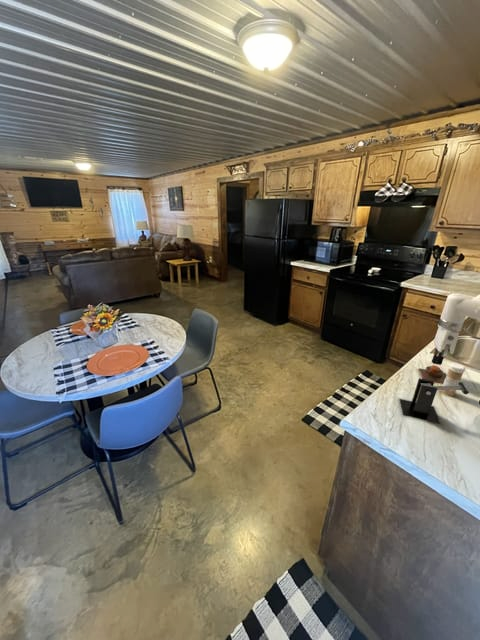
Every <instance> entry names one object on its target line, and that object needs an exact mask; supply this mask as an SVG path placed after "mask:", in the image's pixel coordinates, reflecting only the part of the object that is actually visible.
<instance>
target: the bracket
mask: <svg viewBox="0 0 480 640" xmlns="http://www.w3.org/2000/svg"><path fill="white" fill-rule="evenodd" d="M421 383H430V384H431V386H435V385H434V384H435V382H434V381H430V380H425V379H422V378H418V380H417V383H416V387H415V390H414V393H413V395H412V398H411V400H406V399H402V398H399V404H400V408H401V412H402V415H403V416H406V417H410V418H414V419H418V420H423V421H425V422H430V423H434V424H439V425H441V422H440V419H439V417H438V414H437V411H436V409H435V407H434V405H433V403H434V400H435V398H436V394H437V391H438V390H437V388H435V387H430V386H425V385H421Z"/></svg>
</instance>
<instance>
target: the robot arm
mask: <svg viewBox="0 0 480 640" xmlns="http://www.w3.org/2000/svg"><path fill="white" fill-rule="evenodd" d="M466 318H470V319H474V320H477V321H480V294H478V295H477V296H475V297H473V299H472V297H471V296H469V295H467V294H463V293H450V294H449V295H447V297H446V300H445V303H444V305H443V309H442V311H441V315H440V318H439V321H438V324H437V327H438V328H437V331H436V334H435V336H434V339H433V344H434V347H435V349H434V353H433V357H432V359H431V363H432V365H433V364H434V365H439V366H441V365H442V364H443V362H444V359H445V358H447V356H448V353H449V355H453V354H454V352H455V350H456V346H457V343H458V341H459V340H458V339H459V335H460V332H461V331H462V328H463V326H464V323H465V320H466Z"/></svg>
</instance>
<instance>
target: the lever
mask: <svg viewBox="0 0 480 640" xmlns="http://www.w3.org/2000/svg"><path fill="white" fill-rule="evenodd" d="M421 385H425V386H430V387H435V388H437V391H441V390H456V391H461V392H462V394H463V395H468V394H469V390H468V389H467V387H466V385H465V384H464V382H462V381H460V382H459V383H458V386H443V385H433V386H431V384H430V383H421Z"/></svg>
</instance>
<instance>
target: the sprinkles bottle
mask: <svg viewBox="0 0 480 640" xmlns="http://www.w3.org/2000/svg"><path fill="white" fill-rule="evenodd" d="M465 371H466V367H465V366H464V365H463V364H461V363H457V362H451V363H450V364H449V366H448V371H447V373H446V375H447V376H446V378H445V381H444V383H442V386H459V385H458V383H459V382H461V380H462V377H463V374H464V373H465ZM440 391H441V393H442V394H444V395H446V396H448V397H449V396H450V397H454V396H455V395H456V392H457V390H440Z"/></svg>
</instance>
